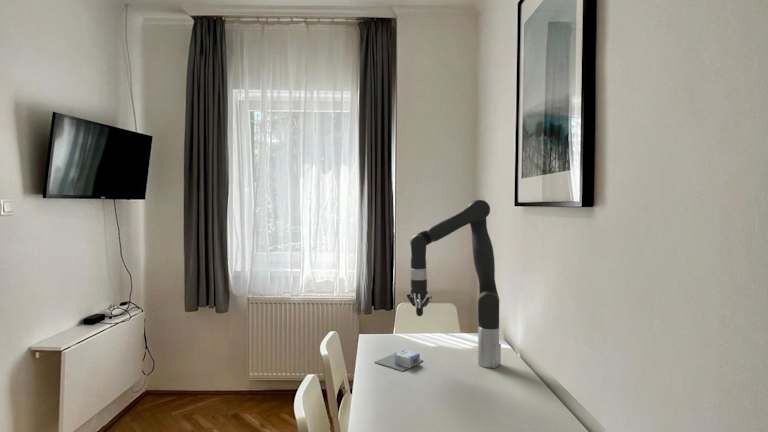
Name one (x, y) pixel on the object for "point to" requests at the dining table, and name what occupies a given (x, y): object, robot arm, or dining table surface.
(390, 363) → the rubber mat
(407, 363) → the medicine box
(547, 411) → the dining table surface
